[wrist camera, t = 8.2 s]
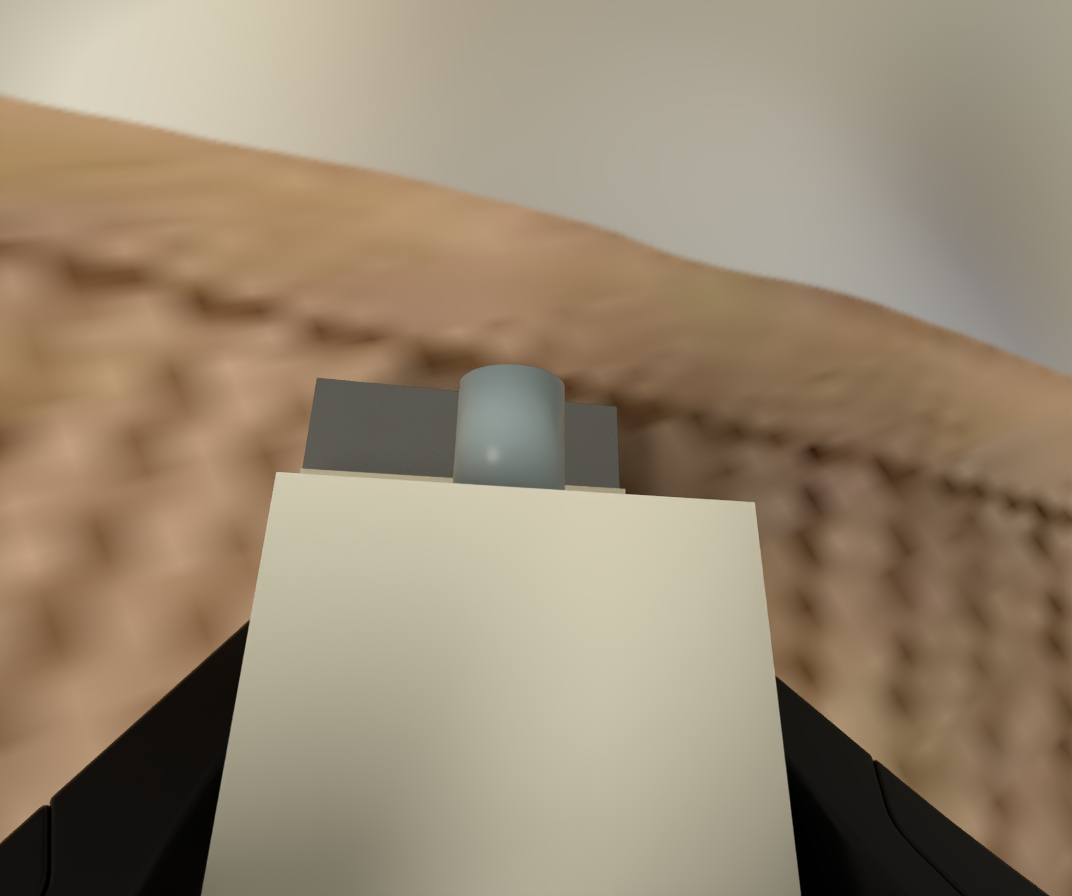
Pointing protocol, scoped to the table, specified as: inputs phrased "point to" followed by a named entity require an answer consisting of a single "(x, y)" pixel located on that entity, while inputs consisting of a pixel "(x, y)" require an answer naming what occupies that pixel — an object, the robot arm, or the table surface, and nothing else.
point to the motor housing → (434, 436)
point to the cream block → (504, 684)
